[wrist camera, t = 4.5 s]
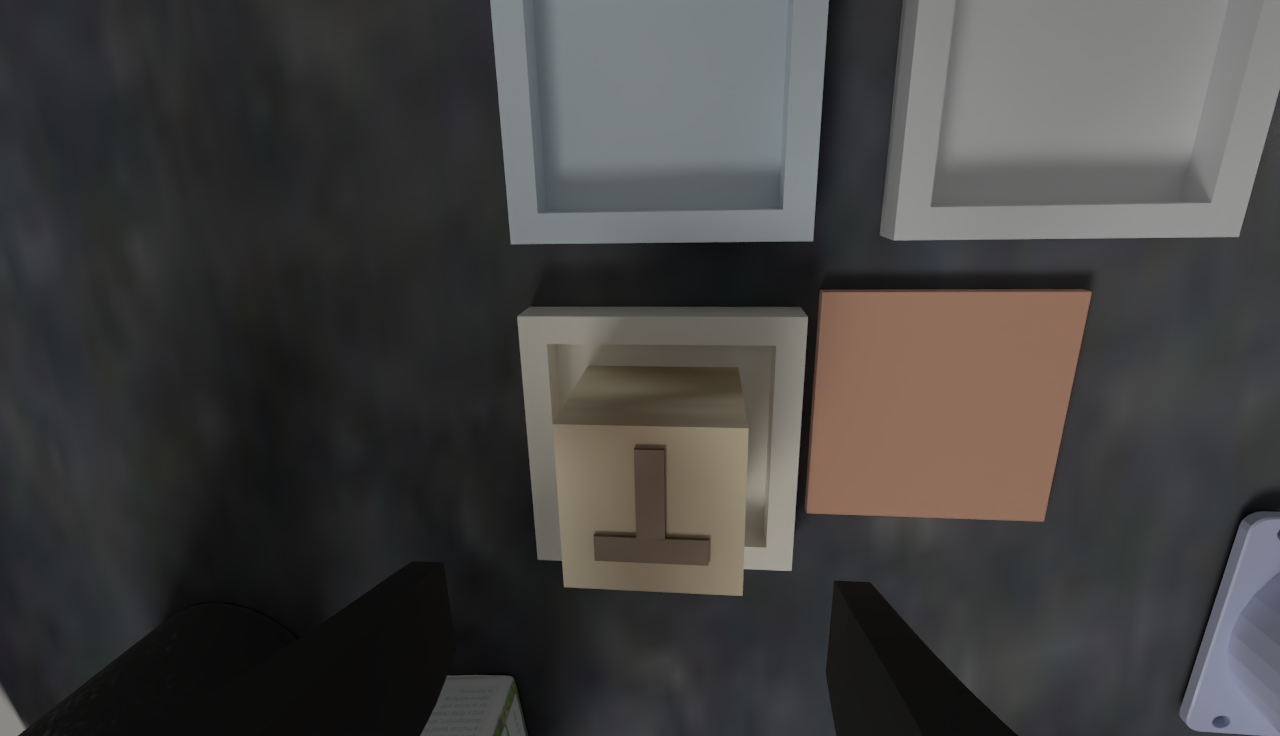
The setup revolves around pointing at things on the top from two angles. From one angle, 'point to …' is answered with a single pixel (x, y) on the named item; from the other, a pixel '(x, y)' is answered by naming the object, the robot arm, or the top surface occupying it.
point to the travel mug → (167, 671)
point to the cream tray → (676, 338)
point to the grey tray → (1078, 118)
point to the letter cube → (653, 480)
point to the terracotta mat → (941, 400)
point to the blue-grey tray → (660, 119)
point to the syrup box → (477, 708)
